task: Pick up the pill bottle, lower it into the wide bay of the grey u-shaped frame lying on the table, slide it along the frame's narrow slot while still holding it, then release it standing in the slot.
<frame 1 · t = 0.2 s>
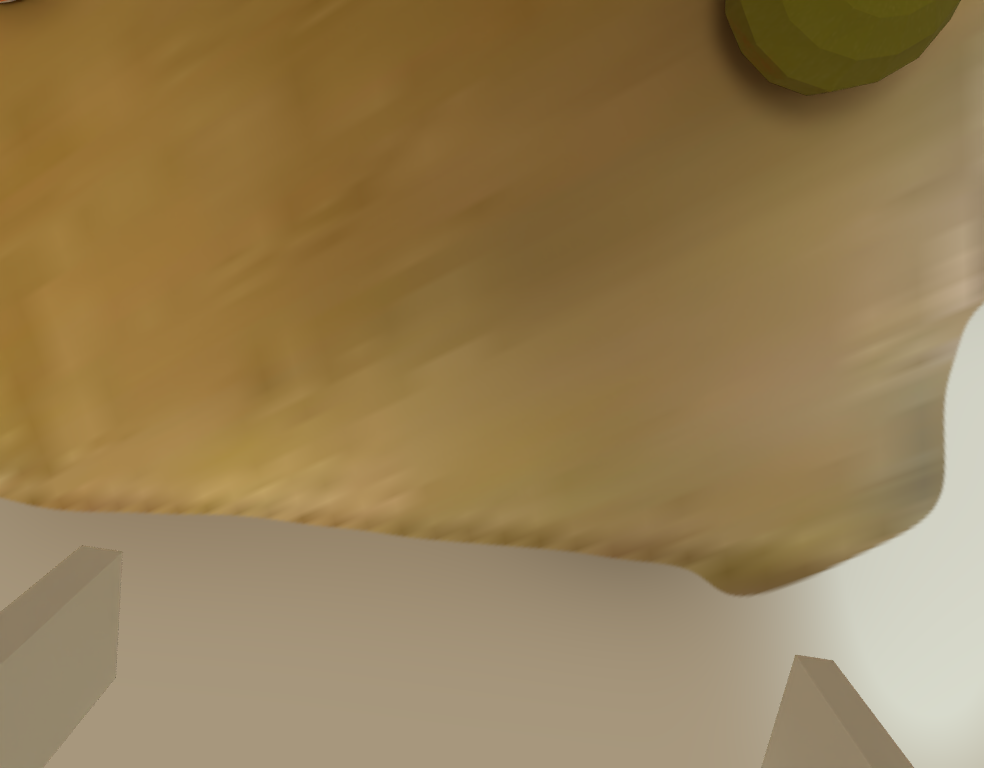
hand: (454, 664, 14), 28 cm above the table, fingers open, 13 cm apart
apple: (793, 3, 37), on the table
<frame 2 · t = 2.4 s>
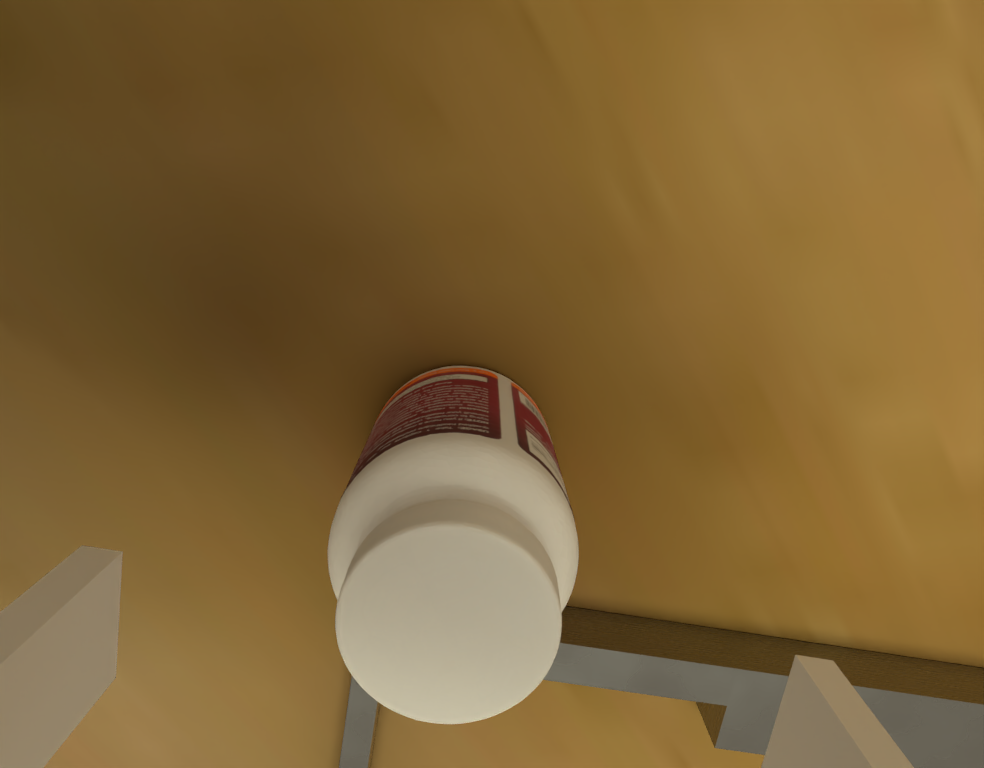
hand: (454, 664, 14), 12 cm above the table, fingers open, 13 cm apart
pill bottle: (462, 445, 26), on the table
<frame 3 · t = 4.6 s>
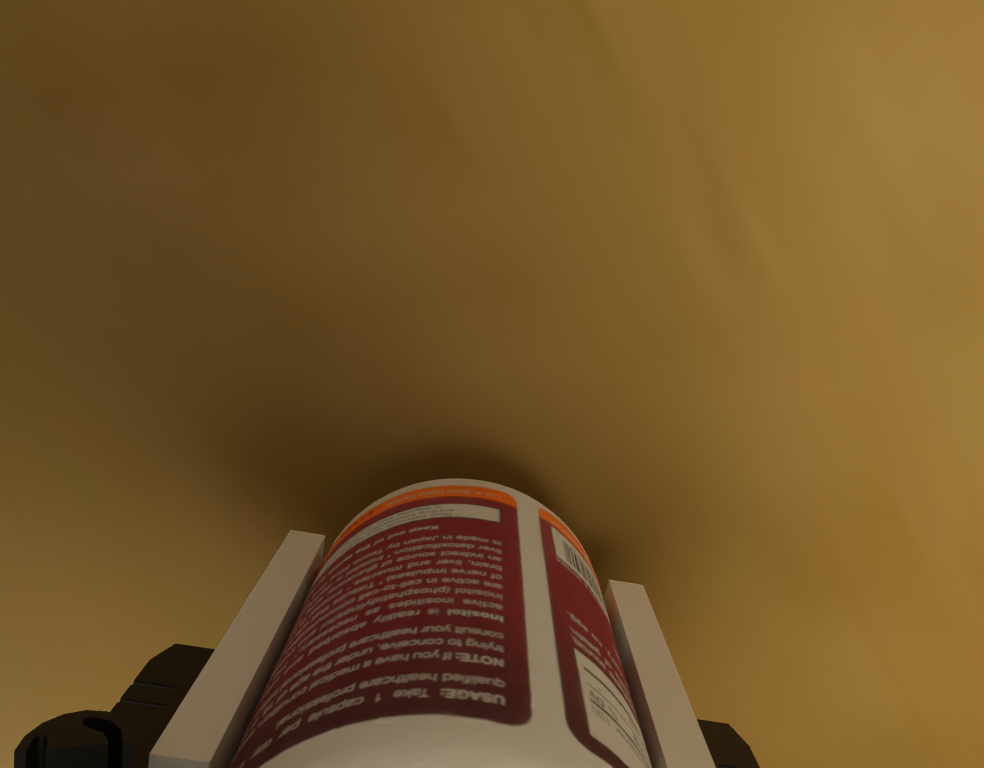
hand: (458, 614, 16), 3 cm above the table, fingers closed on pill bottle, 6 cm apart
pill bottle: (460, 595, 16), point 2 cm above the table, touching gripper
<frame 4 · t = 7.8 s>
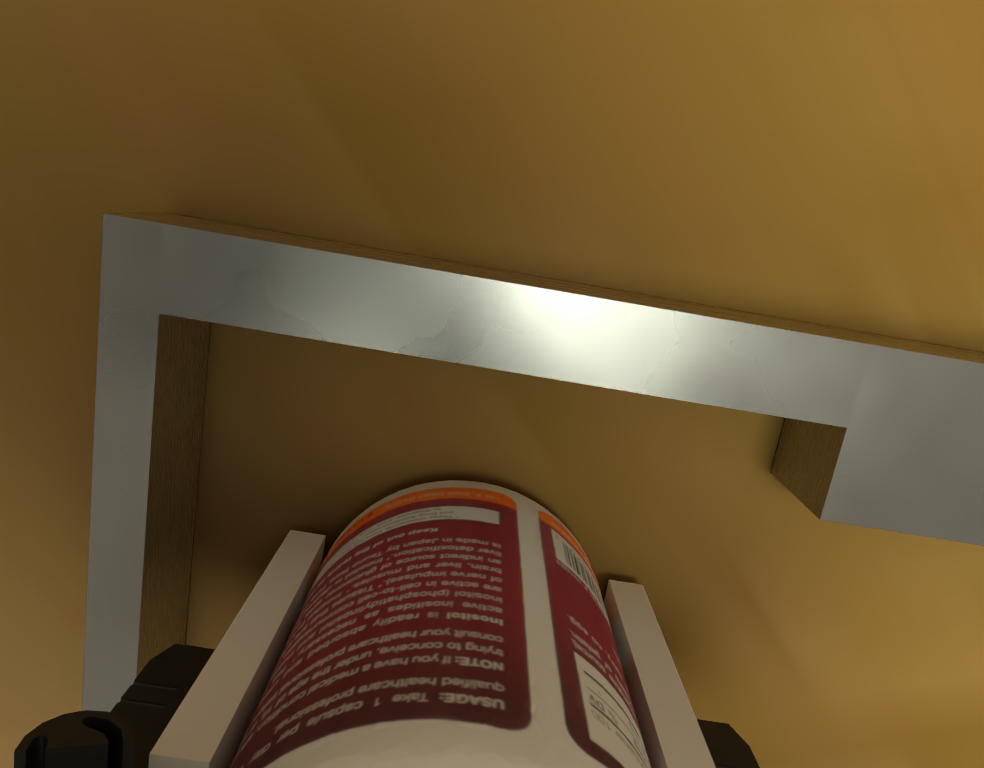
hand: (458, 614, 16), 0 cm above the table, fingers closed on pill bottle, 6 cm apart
pill bottle: (460, 597, 16), resting in grey u-shaped frame, touching gripper
grey u-shaped frame: (700, 644, 16), on the table
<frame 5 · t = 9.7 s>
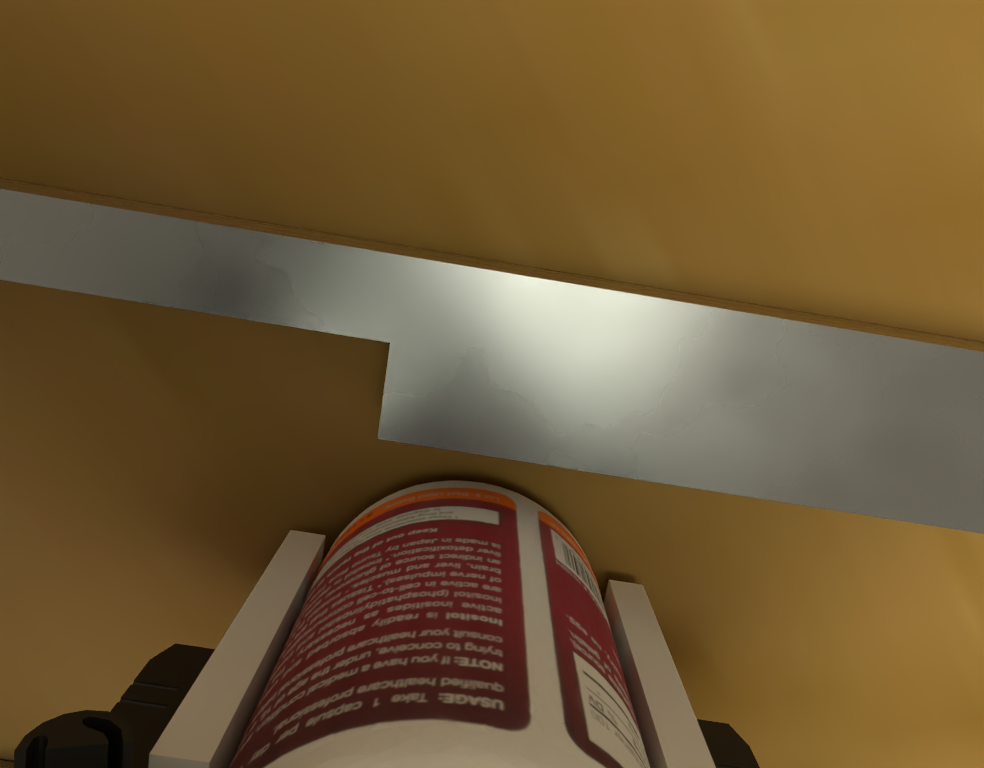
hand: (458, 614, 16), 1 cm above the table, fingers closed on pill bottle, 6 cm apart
pill bottle: (460, 597, 16), resting in grey u-shaped frame, touching gripper
grey u-shaped frame: (347, 581, 16), on the table
when the fingers open (1 cm above the table, at t = 11.2 s): pill bottle stays where it is, resting in grey u-shaped frame.
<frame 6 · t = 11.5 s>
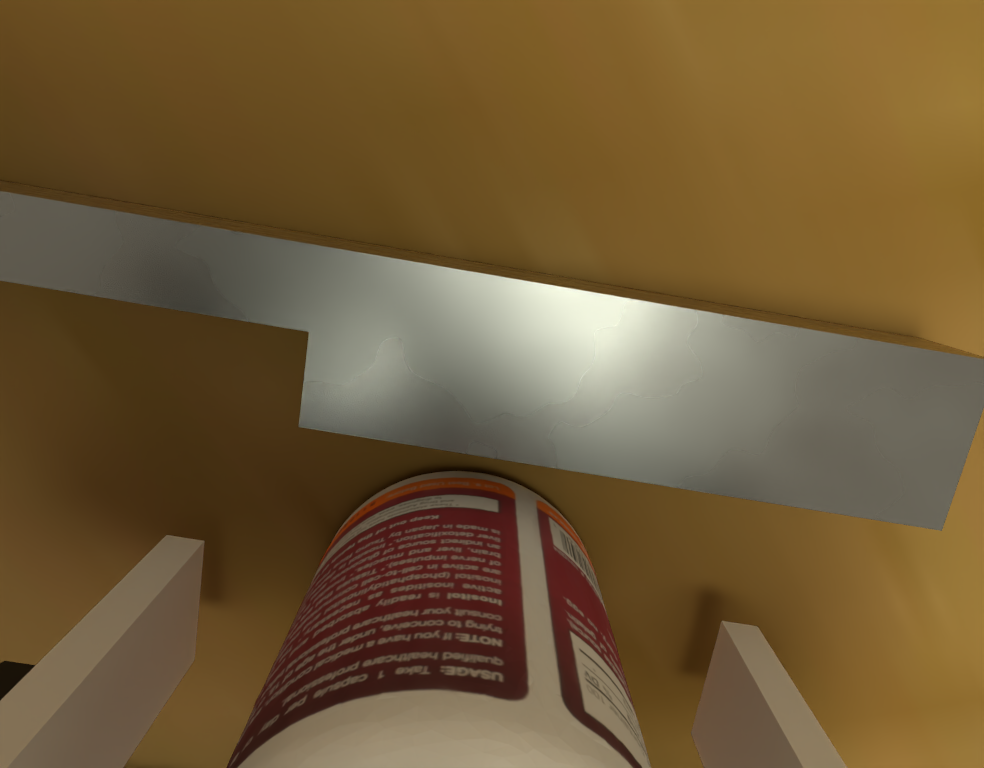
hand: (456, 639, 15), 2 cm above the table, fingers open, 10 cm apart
pill bottle: (460, 585, 17), resting in grey u-shaped frame
grey u-shaped frame: (284, 570, 16), on the table
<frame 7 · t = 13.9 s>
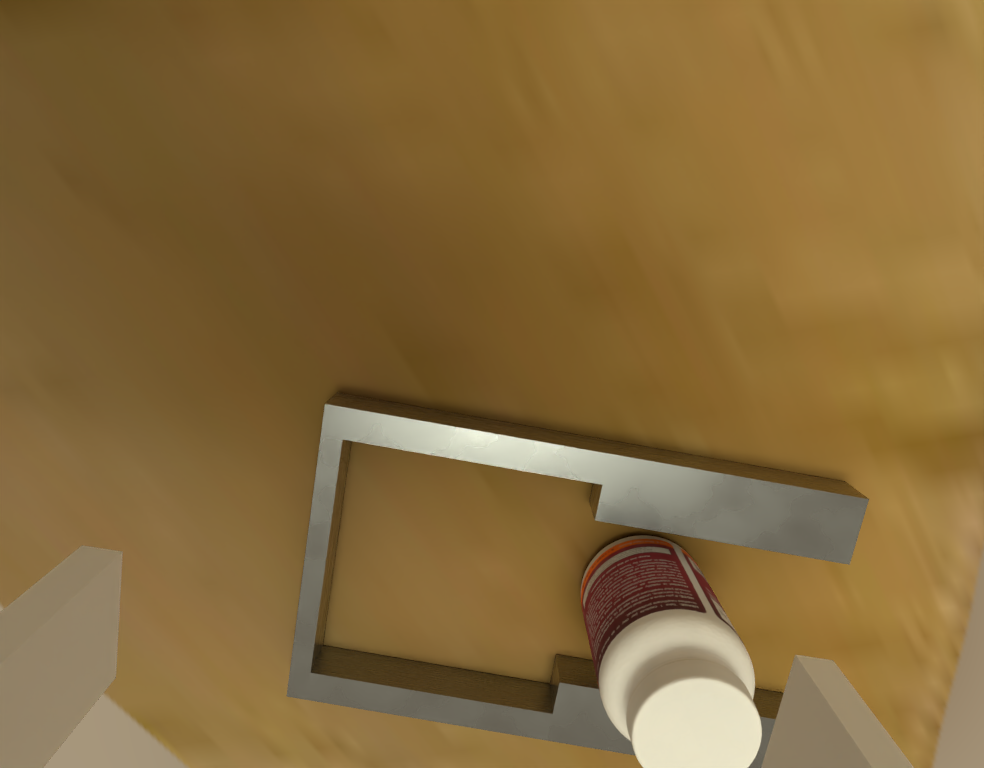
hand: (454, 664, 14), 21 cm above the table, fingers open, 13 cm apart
pill bottle: (639, 586, 37), resting in grey u-shaped frame
grey u-shaped frame: (562, 578, 37), on the table
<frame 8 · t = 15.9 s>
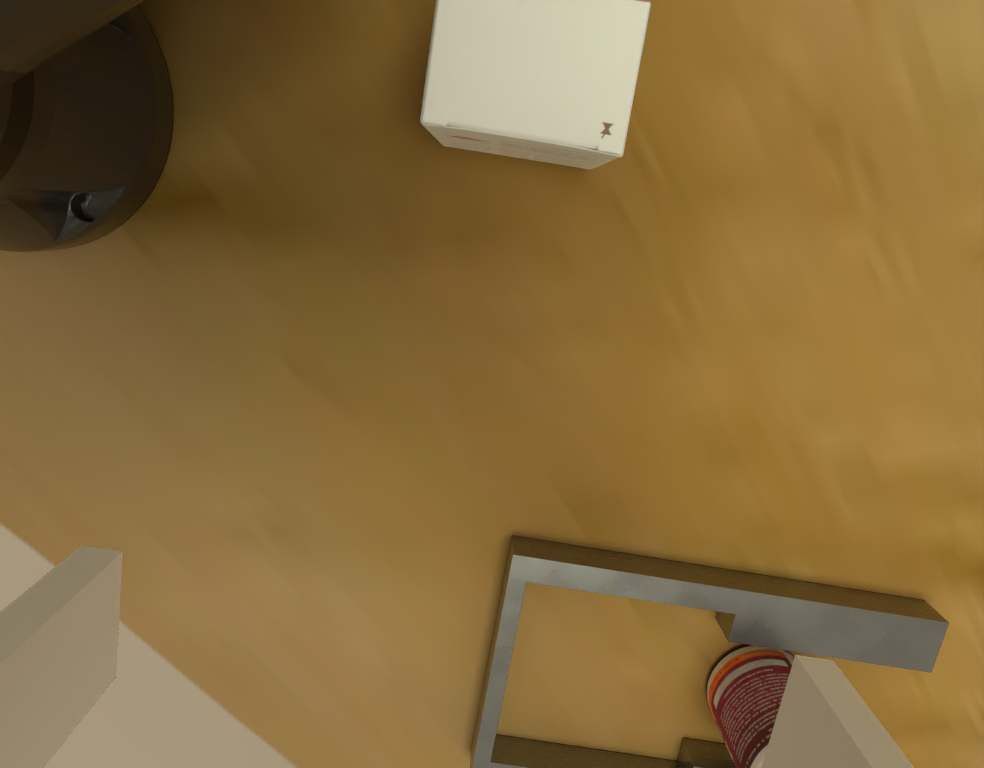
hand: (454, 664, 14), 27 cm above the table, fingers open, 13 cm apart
small box: (524, 103, 37), on the table
pill bottle: (753, 683, 45), resting in grey u-shaped frame
grey u-shaped frame: (691, 678, 45), on the table
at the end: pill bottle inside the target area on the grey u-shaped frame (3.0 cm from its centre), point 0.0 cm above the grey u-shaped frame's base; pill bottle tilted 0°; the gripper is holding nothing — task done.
